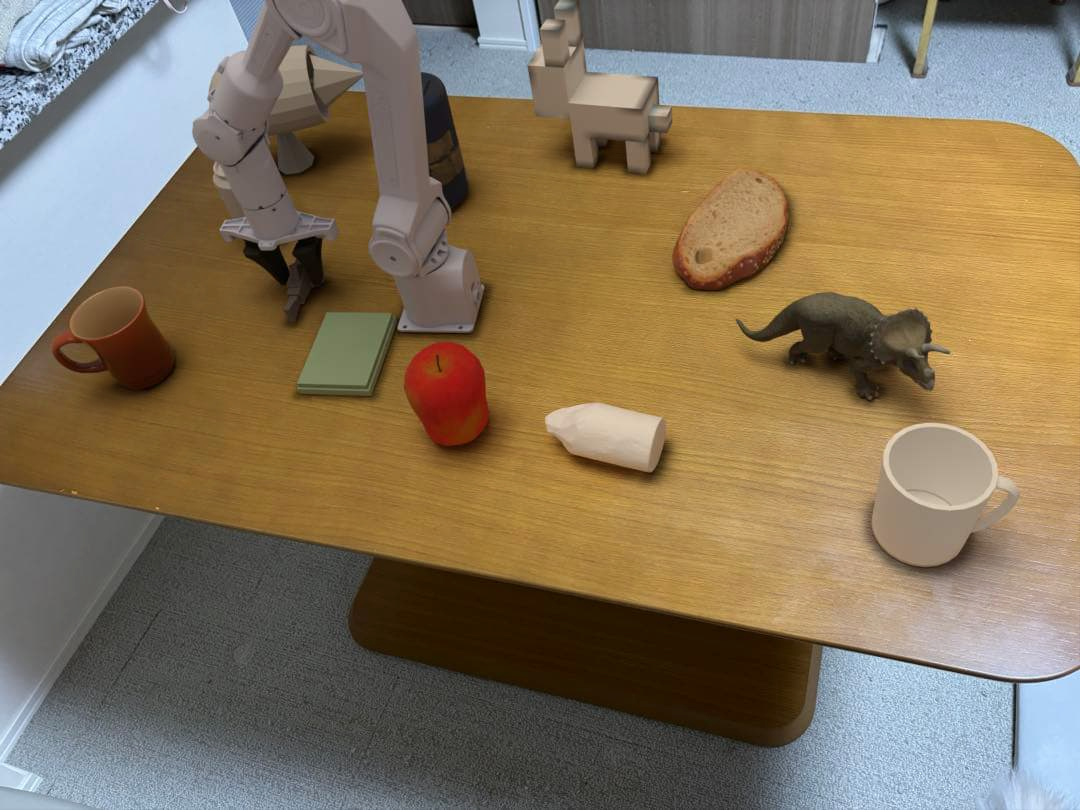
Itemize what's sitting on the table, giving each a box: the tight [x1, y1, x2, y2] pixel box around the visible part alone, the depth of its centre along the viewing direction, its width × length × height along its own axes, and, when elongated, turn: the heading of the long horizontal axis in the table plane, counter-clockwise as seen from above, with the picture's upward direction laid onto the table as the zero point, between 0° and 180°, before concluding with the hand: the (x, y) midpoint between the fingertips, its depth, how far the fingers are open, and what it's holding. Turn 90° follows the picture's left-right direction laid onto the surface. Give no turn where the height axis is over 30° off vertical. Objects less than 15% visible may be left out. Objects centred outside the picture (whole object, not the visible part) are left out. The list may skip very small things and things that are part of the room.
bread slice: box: [671, 167, 789, 291], centre depth 110 cm, size 18×18×4 cm
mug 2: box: [871, 422, 1020, 568], centre depth 78 cm, size 11×9×10 cm
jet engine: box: [207, 44, 363, 175], centre depth 128 cm, size 15×20×18 cm
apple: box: [403, 340, 490, 447], centre depth 93 cm, size 9×8×12 cm
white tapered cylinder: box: [544, 401, 667, 473], centre depth 91 cm, size 6×12×6 cm, turn 68°
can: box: [212, 161, 245, 241], centre depth 121 cm, size 8×8×12 cm
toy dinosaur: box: [735, 291, 952, 401], centre depth 91 cm, size 22×8×11 cm, turn 49°
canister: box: [421, 71, 469, 210], centre depth 118 cm, size 10×10×18 cm
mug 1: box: [50, 285, 175, 390], centre depth 106 cm, size 12×9×10 cm
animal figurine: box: [282, 258, 325, 323], centre depth 114 cm, size 12×4×5 cm, turn 171°
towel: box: [296, 311, 398, 397], centre depth 107 cm, size 9×12×2 cm
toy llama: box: [526, 0, 673, 175], centre depth 118 cm, size 8×18×20 cm, turn 69°
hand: (302, 280), depth 115 cm, fingers open, 4 cm apart
